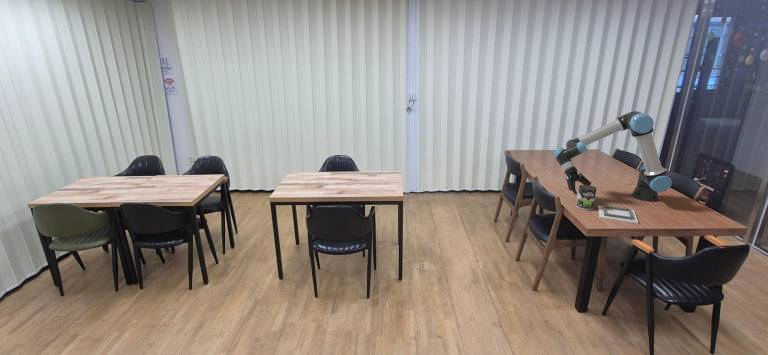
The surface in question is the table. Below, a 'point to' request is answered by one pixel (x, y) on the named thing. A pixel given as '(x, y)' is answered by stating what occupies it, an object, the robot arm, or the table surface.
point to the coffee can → (586, 197)
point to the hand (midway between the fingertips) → (586, 196)
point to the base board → (617, 214)
